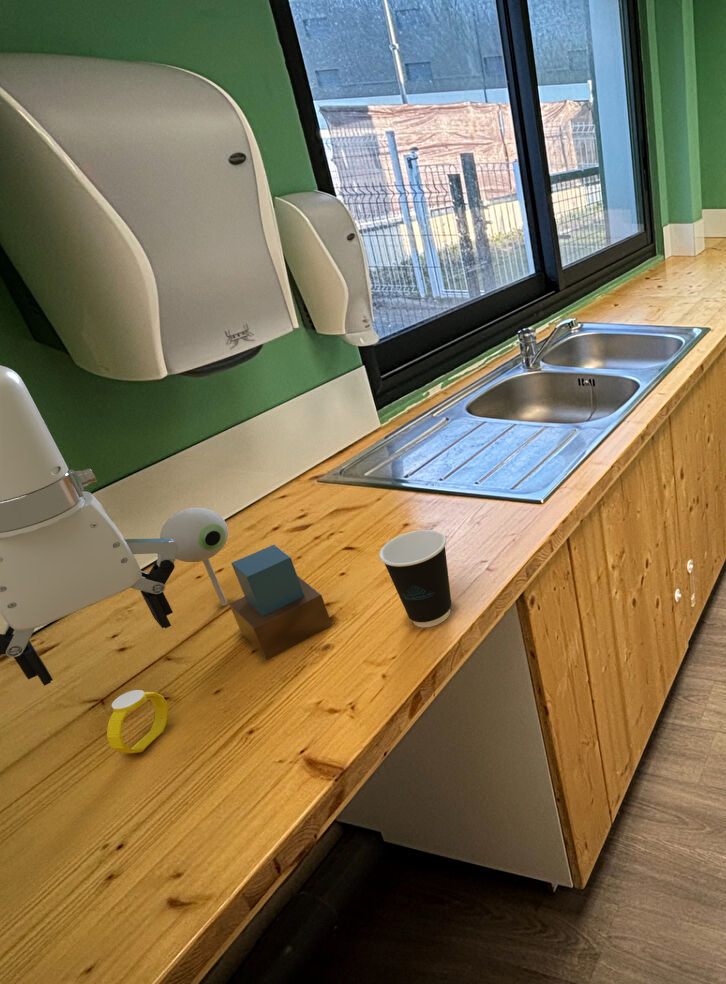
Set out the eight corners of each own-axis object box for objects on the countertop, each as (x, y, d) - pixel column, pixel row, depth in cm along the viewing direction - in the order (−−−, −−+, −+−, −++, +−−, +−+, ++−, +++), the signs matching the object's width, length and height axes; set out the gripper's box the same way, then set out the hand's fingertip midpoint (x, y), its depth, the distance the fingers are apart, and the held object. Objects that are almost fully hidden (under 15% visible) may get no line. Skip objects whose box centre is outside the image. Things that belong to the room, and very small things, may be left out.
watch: (138, 764, 73) (115, 723, 70) (113, 764, 73) (89, 722, 70) (181, 719, 78) (161, 679, 75) (158, 719, 78) (136, 678, 76)
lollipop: (219, 625, 93) (177, 529, 86) (181, 615, 95) (137, 521, 88) (266, 593, 99) (230, 501, 92) (229, 584, 101) (191, 494, 94)
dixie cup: (447, 589, 98) (429, 522, 93) (473, 614, 93) (456, 544, 88) (390, 616, 93) (369, 547, 88) (414, 644, 88) (393, 572, 83)
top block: (262, 616, 86) (246, 577, 83) (246, 601, 89) (230, 562, 86) (304, 596, 89) (290, 557, 87) (288, 582, 92) (274, 544, 90)
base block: (266, 660, 86) (253, 628, 84) (241, 634, 91) (228, 603, 89) (332, 625, 92) (321, 594, 90) (305, 602, 96) (294, 572, 94)
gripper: (128, 455, 71) (192, 591, 78) (-119, 533, 59) (-15, 685, 67) (151, 474, 67) (216, 616, 74) (-110, 563, 55) (-1, 721, 62)
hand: (107, 648), depth 70 cm, fingers open, 9 cm apart
